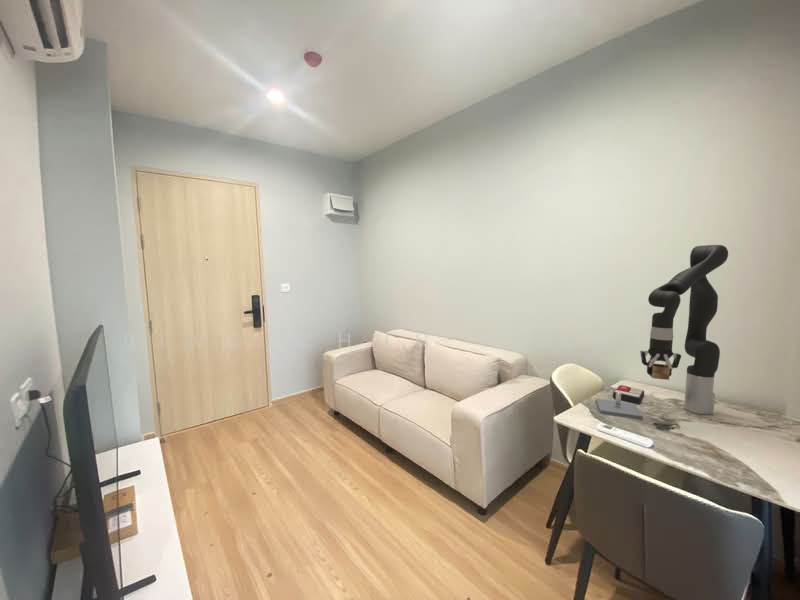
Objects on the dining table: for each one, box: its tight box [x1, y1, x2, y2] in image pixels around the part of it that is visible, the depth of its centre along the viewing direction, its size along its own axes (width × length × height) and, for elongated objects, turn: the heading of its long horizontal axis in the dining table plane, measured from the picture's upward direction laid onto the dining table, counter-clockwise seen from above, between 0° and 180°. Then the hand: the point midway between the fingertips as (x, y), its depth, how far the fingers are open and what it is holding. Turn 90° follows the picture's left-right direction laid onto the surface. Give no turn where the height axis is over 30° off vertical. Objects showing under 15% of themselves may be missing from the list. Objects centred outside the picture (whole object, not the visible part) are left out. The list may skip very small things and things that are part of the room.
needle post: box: [615, 392, 622, 406], centre depth 149 cm, size 2×2×6 cm
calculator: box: [612, 384, 645, 405], centre depth 164 cm, size 11×4×15 cm
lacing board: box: [595, 398, 644, 420], centre depth 150 cm, size 16×14×2 cm
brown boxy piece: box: [649, 363, 670, 381], centre depth 138 cm, size 6×6×5 cm
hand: (658, 375), depth 139 cm, fingers closed on brown boxy piece, 5 cm apart
